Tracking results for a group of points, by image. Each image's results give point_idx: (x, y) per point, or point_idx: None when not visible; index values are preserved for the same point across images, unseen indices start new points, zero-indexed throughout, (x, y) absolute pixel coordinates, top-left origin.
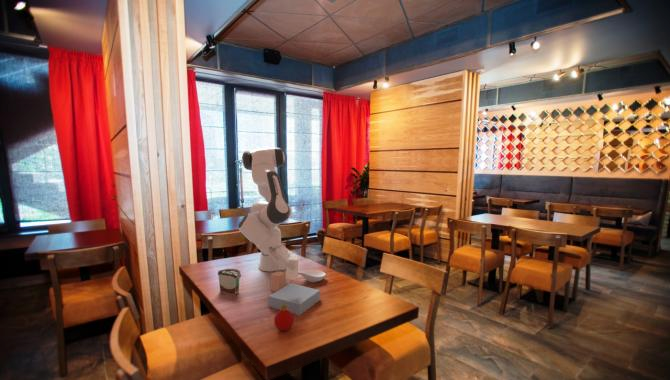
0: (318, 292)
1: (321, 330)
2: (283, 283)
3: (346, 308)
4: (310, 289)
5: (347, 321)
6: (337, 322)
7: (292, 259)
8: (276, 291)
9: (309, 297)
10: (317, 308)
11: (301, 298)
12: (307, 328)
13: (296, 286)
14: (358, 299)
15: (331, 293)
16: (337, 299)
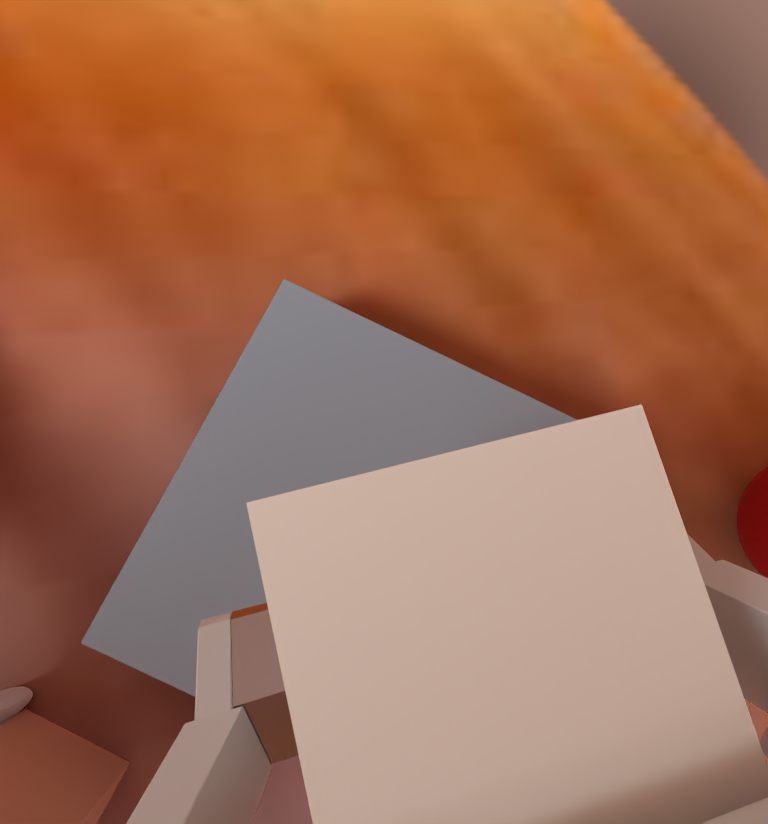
0: (312, 298)
1: (725, 281)
2: (16, 761)
3: (420, 124)
4: (270, 377)
5: (595, 129)
6: (617, 188)
7: (654, 611)
8: (106, 803)
9: (462, 366)
10: (442, 328)
11: (494, 439)
12: (722, 370)
13: (188, 550)
14: (264, 32)
15: (149, 228)
16: (271, 181)
